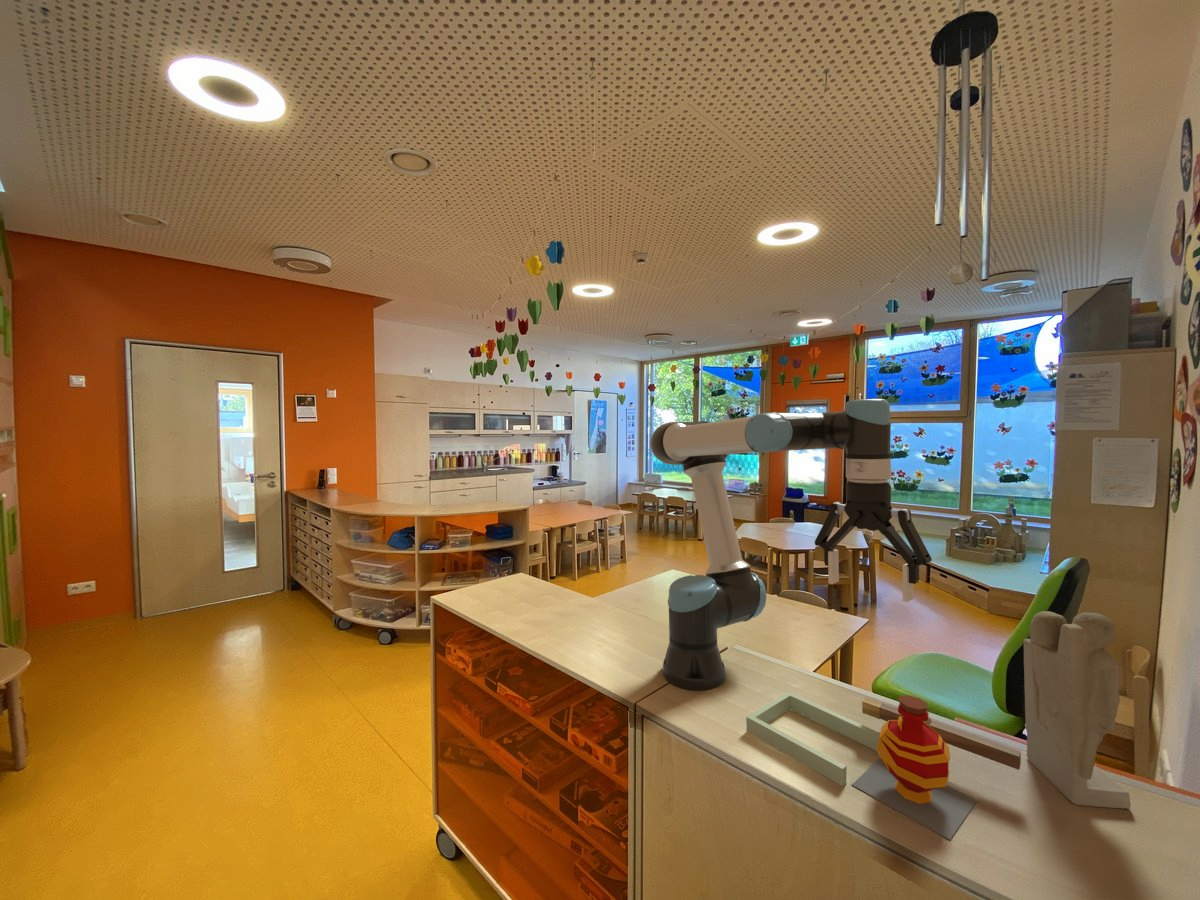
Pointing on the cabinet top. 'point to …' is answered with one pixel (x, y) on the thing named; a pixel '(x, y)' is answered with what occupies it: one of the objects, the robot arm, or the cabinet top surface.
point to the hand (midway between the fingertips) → (868, 590)
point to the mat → (935, 815)
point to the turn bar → (951, 735)
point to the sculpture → (1072, 704)
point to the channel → (799, 750)
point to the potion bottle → (914, 751)
